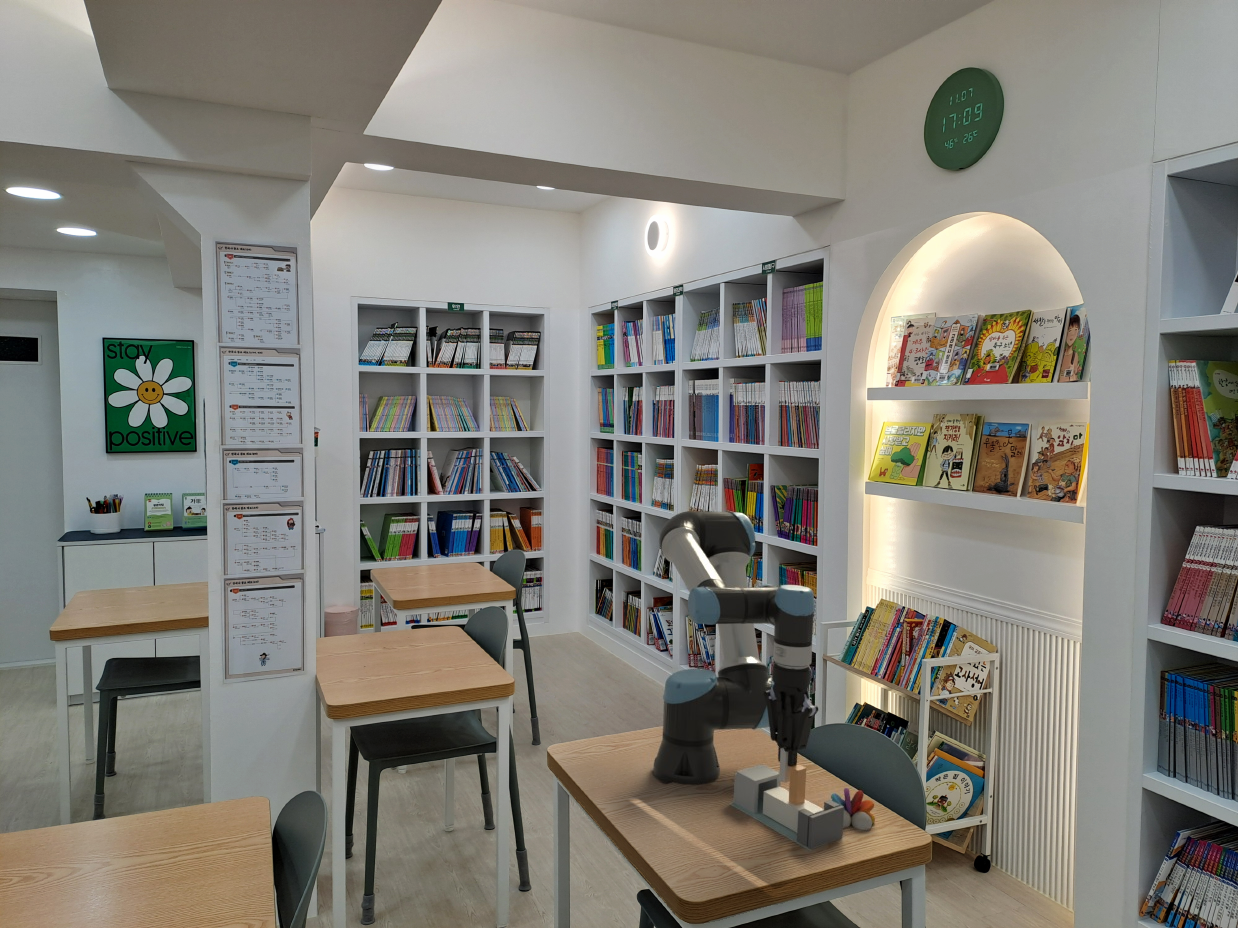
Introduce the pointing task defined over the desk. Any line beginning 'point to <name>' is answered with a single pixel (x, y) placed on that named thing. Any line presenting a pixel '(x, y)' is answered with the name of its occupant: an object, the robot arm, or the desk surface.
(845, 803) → the rainbow disc toy
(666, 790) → the desk surface
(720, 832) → the desk surface
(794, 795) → the block with wooden peg
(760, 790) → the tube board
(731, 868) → the desk surface
